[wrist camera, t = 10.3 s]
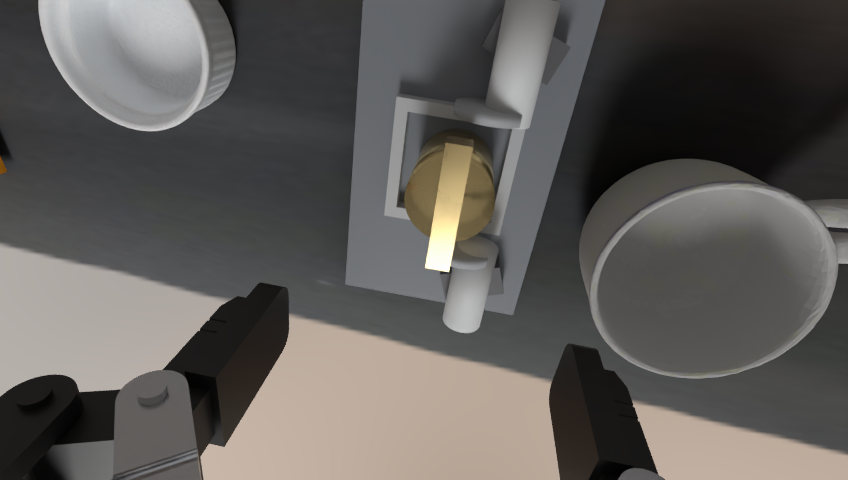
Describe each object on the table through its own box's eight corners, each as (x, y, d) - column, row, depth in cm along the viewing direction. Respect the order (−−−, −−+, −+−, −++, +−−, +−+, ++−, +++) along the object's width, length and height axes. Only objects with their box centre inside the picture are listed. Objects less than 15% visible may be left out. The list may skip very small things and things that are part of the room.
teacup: (571, 301, 31) (596, 387, 24) (558, 155, 27) (585, 208, 20) (795, 278, 29) (897, 367, 22) (825, 109, 24) (968, 153, 17)
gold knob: (426, 105, 25) (408, 136, 19) (503, 117, 25) (510, 153, 19) (412, 207, 28) (393, 262, 22) (481, 219, 28) (480, 277, 22)
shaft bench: (371, -45, 23) (339, -60, 18) (602, -10, 22) (637, -15, 17) (349, 275, 32) (324, 325, 27) (511, 305, 32) (517, 361, 27)
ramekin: (75, -40, 25) (2, -49, 21) (221, -60, 24) (170, -73, 20) (136, 119, 29) (84, 136, 25) (263, 109, 28) (228, 126, 24)
